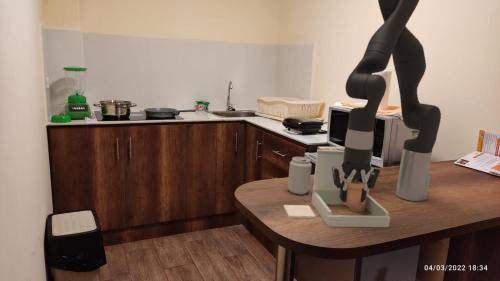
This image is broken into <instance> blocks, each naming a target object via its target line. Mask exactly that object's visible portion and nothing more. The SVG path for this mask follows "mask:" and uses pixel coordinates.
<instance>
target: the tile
mask: <svg viewBox="0 0 500 281" xmlns="http://www.w3.org/2000/svg"><path fill="white" fill-rule="evenodd" d="M283 209H284V211H285V212H286V215H287V217H288V218H289V219H293V218H294V219H316V218H317V217H316V216H317V215H316V214H315V212H313V209H312V208H311V207H310V206H309V205H308V204H307V205H305V204H304V205H303V204H300V205H299V204H293V205H292V204H290V205H289V204H283Z"/></svg>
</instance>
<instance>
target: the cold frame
mask: <svg viewBox="0 0 500 281" xmlns="http://www.w3.org/2000/svg"><path fill="white" fill-rule="evenodd" d="M373 155H374V152H373V151H372V155H371V162H370V166H371V167H372V161H373ZM343 161H344V151H332V150H316V158H315V170H314V178H313V188H312V196H311V204H312V206H313V207H314V208H315V210H316V212H318V215H319V216H320V217H321V219H322V220H323V221H324V223H325V224H326V226H327V227H329V228H331V227H336V228H341V227H344V228H346V227H347V228H389V227H390V224H391V223H390V220H391V217H390V212H389V211H388V210H387V209H385V207H383V206H382V205H381V204H380V203H379V202H378V201H377V200H375V199H374V198H373V197H372V196H371V195H369V194H368V195H367V197H366V205H365V210H367V211H368V212H370V215H347V214H346V215H345V214H343V215H342V214H341V215H340V214H339V215H338V214H336V215H334V214H333V213H332V212H333V211H332V210H331V208H330V207H329V206H328V205H334V206H335V205H338V206H341V205H343V206H345V205H344V202H342V201H341V199H340V197H339V196H340V188H337V187H336V186H335V185H334V180H333V173H332V167H340V166H341V165H342V164H343ZM344 174H345V173H344V172H343V170H342V171H341V174H340V175H339V176H340V182H342V178H343V176H344ZM369 176H370V171H369V172H368V173H367V175H366V180H367V181H368V178H369Z"/></svg>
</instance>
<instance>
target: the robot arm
mask: <svg viewBox="0 0 500 281" xmlns="http://www.w3.org/2000/svg"><path fill="white" fill-rule="evenodd" d="M377 2H378V6H379V7H378V8H379V9H380V13H381V16H382V20H383V24H382V25H381V26H380V27H379V28H378V29H377V30H376V31H375V32H374V33H373V35H372V36H371V37H370V39H369V41H368V43H367V46H366V49H365V51H364V53H363V56H362V58H361V60H359V62H358V63H357V65H356V66H355V68H353V70H352V71H351V73H350V74H349V76H348V77H347V79H346V82H345V89H344V90H345V93H346V95H347V96H348V97H349V98H350V99H355V100H364V101H367V102H366V104H365V105H364V106H361V107H354V108H351V109H350V111H349V112H348V113H349V115H348V123H347V131H346V133H345V142H344V147H345V149H344V161H343V164H342V165H341V166H340V167H332V173H333V180H334V185H335V186H336V187H337V188H340V196H339V197H340V199H341V201H342V202H346V197H347V190H346V189H347V183H351V181H352V180H356V179H357V180H361V181H362V183H365V186H364V188H363V189H362V195H361V202H364V200H365V199H366V193H367V190H368V189H369V190H370V189H374V187H375V184H376V182H377V180H378V178H379V175H380V171H381V170H380V169H379V168H378V167H376V166H372V165H371V166H370V162H371V155H372V152H373V146H374V133H375V132H374V130H375V122H376V116H377V114H378V110H379V107H380V105H381V103H382V100H383V98H384V96H385V93H386V91H387V81H386V79H385V77H384V76H382V75H381V74H379V73H381V72H384V71H385V70H386V69H387V67H388V65H389V63H390V60H391V57H392V62H393V67H394V72H395V75H396V80H397V85H398V90H399V97H400V98H399V100H400V109H401V110H400V111H401V118H402V122H403V125H404V126H405V127H406V128H408V129H411V130H415V131H418V134H417V136H416V137H415V138H408V139H406V140H404V141H403V144H402V145H403V147H402V152H401V153H402V154H401V159H400V163H399V164H400V167H399V171H398V178H397V183H396V184H397V185H396V190H395V195H396V196H397V197H398V198H400V199H403V200H406V201H409V202H410V201H412V202H422V201H426V200H427V196H428V192H429V187H430V180H431V176H432V175H431V173H430V172H429V170H430V166H431V165H430V164H431V161H432V160H431V159H432V153H433V149H434V146H435V144H436V140H437V136H438V134H439V128H440V124H441V119H442V113H441V109H440V108H439V106H436V105H433V104H428V103H427V104H426V103H421V102H420V101H419V97H418V88H419V85H420V83H421V81H422V79H423V78H424V77H423V76H425V72H426V70H427V63H426V56H425V51H424V50H425V49H424V46H423V44H422V43H421V42H420V40H419V39H418V38H417V37H416V36H415V34H413V33H412V31H411V30H409V28H408V27H407V24H408V22H409V20H410V19H411V17H412V15H413V14H414V12H415V11H416V8H417V6H418V5H419V2H420V0H377ZM376 73H378V74H376ZM342 170H343V172H344V173H345V174H344V176H343V178H342V182H340V176H339V175H340V174H341V171H342ZM369 171H370V176H369V178H368V181H367V180H366V175H367V173H368V172H369ZM344 181H345V183H344Z"/></svg>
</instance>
